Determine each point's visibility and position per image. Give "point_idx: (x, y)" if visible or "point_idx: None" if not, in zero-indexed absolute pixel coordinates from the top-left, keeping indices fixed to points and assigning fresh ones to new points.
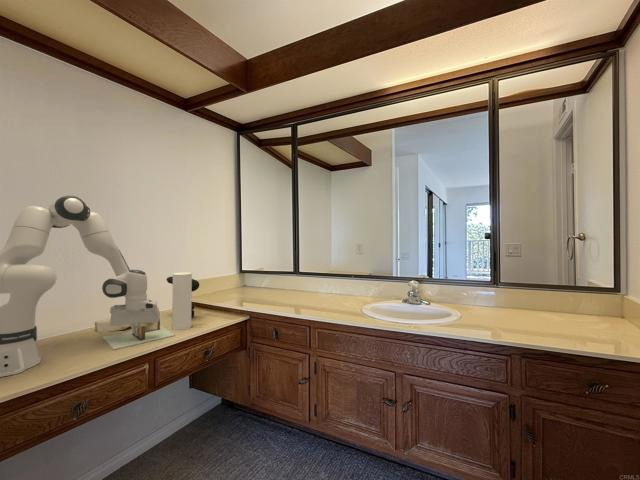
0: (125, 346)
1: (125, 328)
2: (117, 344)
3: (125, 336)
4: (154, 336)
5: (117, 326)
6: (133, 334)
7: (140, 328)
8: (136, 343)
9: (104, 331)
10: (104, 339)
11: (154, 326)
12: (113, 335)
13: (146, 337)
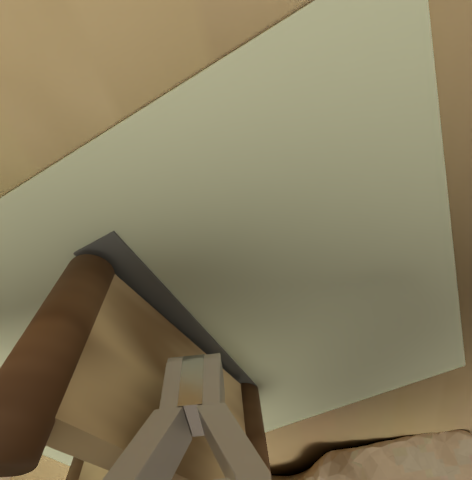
0: (248, 44)
1: (324, 459)
2: (364, 164)
3: (306, 361)
4: (16, 330)
5: (377, 477)
6: (248, 385)
7: (101, 423)
8: (119, 141)
9: (435, 437)
10: (459, 332)
11: (98, 475)
12: (393, 385)
13: None
